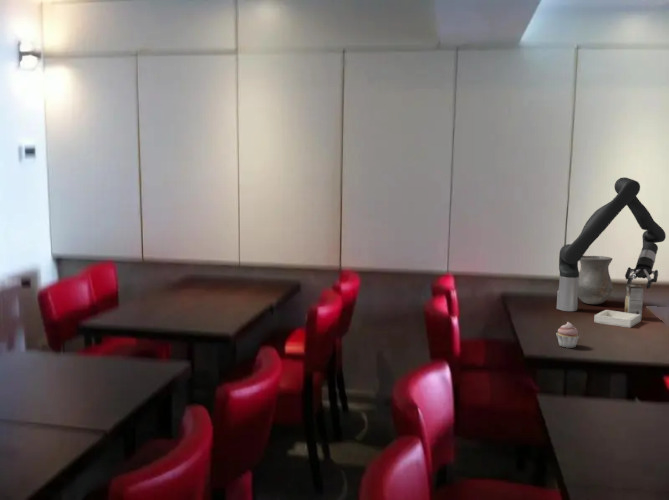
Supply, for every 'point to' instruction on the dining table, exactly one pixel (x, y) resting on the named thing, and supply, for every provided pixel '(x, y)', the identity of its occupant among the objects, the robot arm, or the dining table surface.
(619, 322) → the dish
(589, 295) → the vase
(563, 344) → the cupcake
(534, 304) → the dining table surface
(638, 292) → the coffee box
